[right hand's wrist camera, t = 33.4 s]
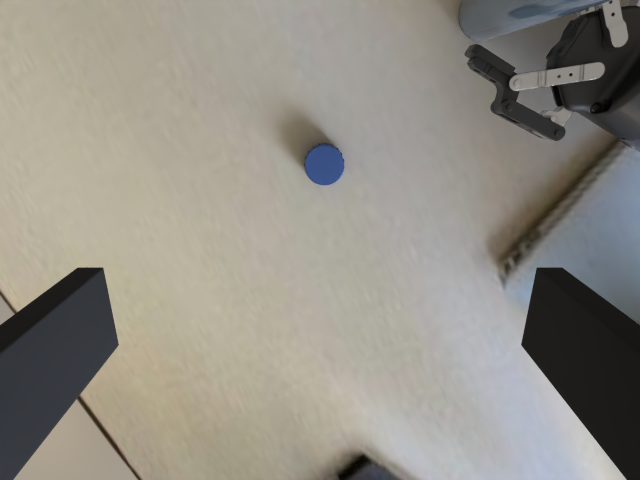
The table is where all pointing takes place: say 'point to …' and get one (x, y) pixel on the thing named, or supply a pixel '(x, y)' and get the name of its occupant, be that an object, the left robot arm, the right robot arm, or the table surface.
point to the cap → (324, 164)
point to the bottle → (513, 15)
